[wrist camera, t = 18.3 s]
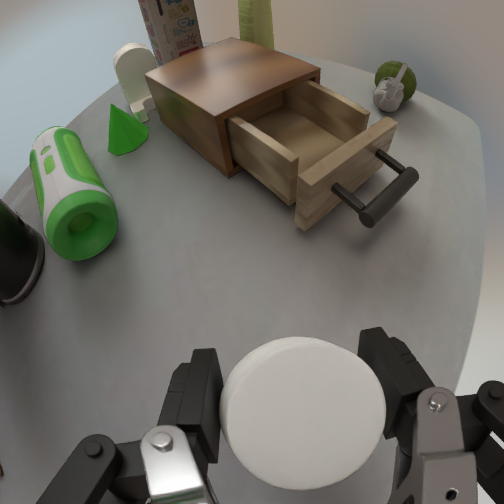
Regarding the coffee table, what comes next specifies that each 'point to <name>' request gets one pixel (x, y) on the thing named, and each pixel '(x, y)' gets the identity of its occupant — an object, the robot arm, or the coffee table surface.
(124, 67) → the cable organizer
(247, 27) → the tube
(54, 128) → the speaker
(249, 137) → the dresser drawer
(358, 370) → the pill bottle
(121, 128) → the gemstone
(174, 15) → the juice carton
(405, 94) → the hand grenade
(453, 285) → the coffee table surface
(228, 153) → the wooden mini dresser
